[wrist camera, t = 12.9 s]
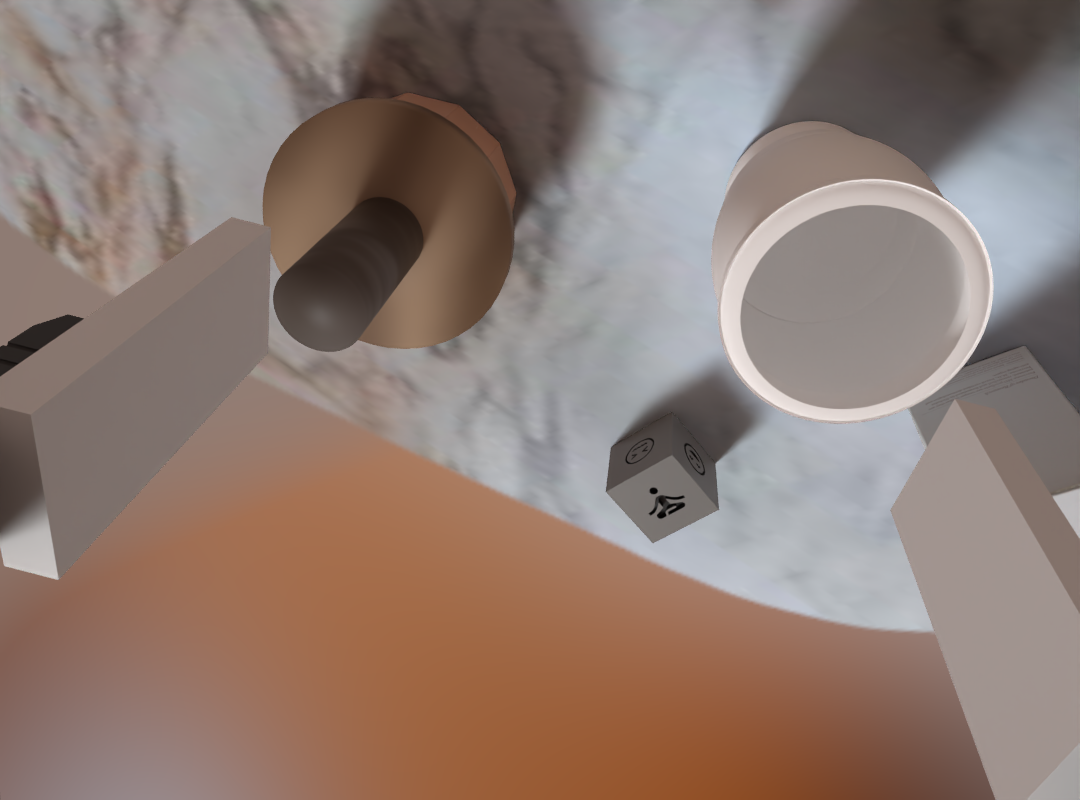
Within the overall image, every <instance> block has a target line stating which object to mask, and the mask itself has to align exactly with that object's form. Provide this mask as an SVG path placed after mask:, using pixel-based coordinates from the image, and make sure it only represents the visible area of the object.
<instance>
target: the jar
mask: <svg viewBox="0 0 1080 800" xmlns="http://www.w3.org/2000/svg"><path fill="white" fill-rule="evenodd" d="M711 265H712V278H713V284H714V289H715V294H716V297H717V301H718V324H719V331H720V336H721V341H722V345H723V348H724V351H725V353H726V356H727V358H728V360H729V362H730V364H731V366H732V368H733V369H734V371H735V373H736V374H737V375H738V377H739V378H740V379H741V381H742V382H743V383H744V384H745V385H746V386H747V387H748V388H749V389H750V390H751V391H752V392H753V393H754V394H755V395H756V396H758V397H759V398H760V399H762V400H763V401H764V402H766V403H767V404H769V405H771V406H772V407H774V408H776V409H778V410H780V411H782V412H784V413H787V414H789V415H792V416H795V417H798V418H801V419H805V420H810V421H815V422H822V423H834V424H845V423H858V422H865V421H871V420H875V419H879V418H883V417H886V416H890V415H893V414H895V413H898V412H901V411H903V410H905V409H907V408H910V407H912V406H914V405H916V404H917V403H919V402H921V401H923V400H924V399H926V398H927V397H929V396H931V395H932V394H933V393H935V392H936V391H938V390H939V389H940V388H941V387H943V386H944V385H945V384H946V383H947V382H948V381H949V380H951V379H952V378H953V377H954V376H955V375H956V374H957V372H958V371H959V370H960V369H961V368H962V367H963V366H964V364H965V363H966V362H967V361H968V359H969V358H970V356H971V355H972V353H973V352H974V350H975V349H976V347H977V345H978V343H979V342H980V340H981V338H982V335H983V333H984V331H985V328H986V326H987V323H988V320H989V316H990V312H991V307H992V301H993V273H992V267H991V263H990V259H989V255H988V252H987V250H986V247H985V245H984V243H983V241H982V239H981V237H980V235H979V234H978V232H977V230H976V229H975V228H974V226H973V225H972V224H971V222H970V221H969V220H968V219H967V218H966V217H965V216H964V215H963V214H962V213H961V212H960V211H959V210H958V209H957V208H956V207H955V206H954V205H953V204H952V203H950V202H949V201H948V200H946V199H945V198H944V197H943V196H942V194H941V193H940V191H939V190H938V188H937V187H936V186H935V184H934V183H933V182H932V180H931V179H930V178H929V177H928V176H927V175H926V174H925V173H924V172H923V171H922V170H921V169H920V168H919V167H918V166H917V165H916V164H915V163H914V162H912V161H911V160H910V159H908V158H907V157H906V156H904V155H903V154H901V153H900V152H898V151H896V150H895V149H893V148H891V147H889V146H887V145H885V144H883V143H881V142H878V141H875V140H873V139H870V138H866V137H863V136H860V135H857V134H854V133H852V132H850V131H849V130H847V129H845V128H843V127H840V126H838V125H835V124H831V123H827V122H820V121H804V122H796V123H792V124H788V125H785V126H782V127H780V128H777V129H775V130H773V131H771V132H769V133H767V134H766V135H764V136H763V137H761V138H760V139H759V140H757V141H756V142H755V143H754V144H753V145H751V146H750V147H749V148H748V150H747V151H746V152H745V153H744V154H743V155H742V157H741V158H740V159H739V161H738V162H737V164H736V165H735V167H734V169H733V171H732V173H731V175H730V178H729V181H728V184H727V187H726V192H725V199H724V202H723V205H722V208H721V211H720V213H719V216H718V219H717V223H716V227H715V231H714V236H713V243H712V255H711Z"/></svg>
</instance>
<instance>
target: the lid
mask: <svg viewBox="0 0 1080 800" xmlns="http://www.w3.org/2000/svg"><path fill="white" fill-rule="evenodd" d="M263 222H264V226H268V227H271V245H270V251H271V254H272V256H273V258H274V260H275V263H276V265H277V267H278V269H279V271H280V272H281V274H282V276H281V277H280V278H279V280H278V281H277V283H276V286H275V289H274V295H273V303H274V309H275V312H276V315H277V317H278V319H279V321H280V323H281V325H282V326H283V327H284V329H285V330H286V331H287V332H288V333H289V334H290V335H291V336H292V337H293V338H294V339H295V340H297V341H298V342H300V343H301V344H303V345H305V346H307V347H309V348H312V349H315V350H319V351H325V352H335V351H340V350H343V349H346V348H348V347H350V346H351V345H353V344H354V343H355V342H356V341H357V340H360V341H363V342H366V343H370V344H373V345H377V346H383V347H388V348H400V349H410V348H422V347H427V346H433V345H436V344H439V343H442V342H446V341H448V340H450V339H452V338H454V337H456V336H459V335H460V334H462V333H463V332H465V331H466V330H468V329H469V328H471V327H472V326H473V325H474V324H475V323H477V322H478V321H479V320H480V319H481V318H482V317H483V316H484V315H485V313H486V312H487V311H488V310H489V309H490V308H491V306H492V305H493V303H494V301H495V300H496V298H497V296H498V295H499V293H500V290H501V288H502V286H503V284H504V282H505V279H506V277H507V275H508V272H509V269H510V265H511V261H512V257H513V249H514V222H513V215H512V209H511V205H510V202H509V198H508V195H507V192H506V190H505V187H504V185H503V183H502V180H501V178H500V176H499V174H498V173H497V171H496V169H495V167H494V166H493V164H492V162H491V161H490V160H489V158H488V157H487V156H486V154H485V153H484V152H483V150H482V149H481V148H480V147H479V146H478V145H477V144H476V143H475V142H474V141H473V139H472V138H471V137H470V136H469V135H467V134H466V133H465V132H464V131H463V130H461V129H460V128H459V127H458V126H456V125H455V124H454V123H452V122H451V121H449V120H448V119H446V118H444V117H443V116H441V115H440V114H438V113H436V112H433V111H431V110H429V109H427V108H425V107H423V106H419V105H416V104H413V103H410V102H407V101H402V100H396V99H391V98H363V99H355V100H351V101H347V102H343V103H339V104H337V105H335V106H333V107H330V108H328V109H326V110H324V111H322V112H320V113H318V114H317V115H315V116H313V117H312V118H310V119H309V120H307V121H306V122H304V123H302V124H301V125H300V126H299V127H298V128H297V129H296V130H295V131H293V132H292V133H291V134H290V135H289V137H288V138H287V139H286V140H285V142H284V143H283V144H282V145H281V147H280V148H279V150H278V152H277V154H276V155H275V157H274V159H273V161H272V163H271V166H270V169H269V171H268V174H267V178H266V182H265V187H264V194H263Z"/></svg>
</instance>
